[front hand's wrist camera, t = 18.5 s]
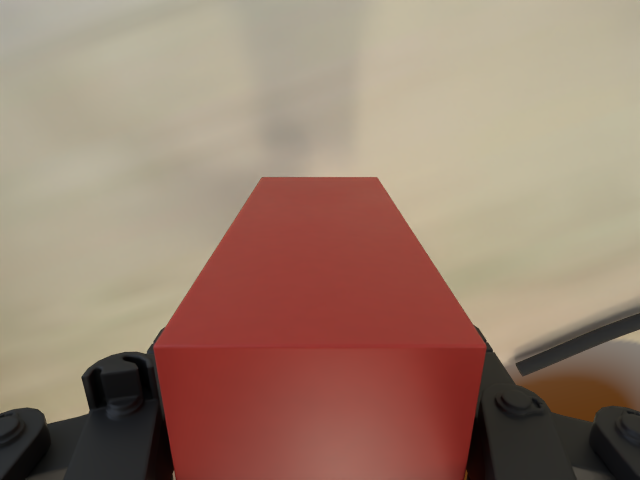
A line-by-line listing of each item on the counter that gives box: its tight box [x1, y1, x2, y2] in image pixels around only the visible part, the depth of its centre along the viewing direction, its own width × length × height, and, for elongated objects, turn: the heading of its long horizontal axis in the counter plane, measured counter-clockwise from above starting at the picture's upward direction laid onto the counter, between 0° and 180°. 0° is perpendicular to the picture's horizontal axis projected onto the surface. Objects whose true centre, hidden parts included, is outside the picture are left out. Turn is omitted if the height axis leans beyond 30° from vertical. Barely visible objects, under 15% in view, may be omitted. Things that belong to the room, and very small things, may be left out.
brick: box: [153, 177, 487, 480], centre depth 12 cm, size 5×7×12 cm
